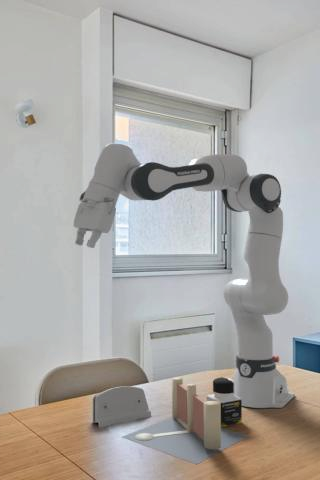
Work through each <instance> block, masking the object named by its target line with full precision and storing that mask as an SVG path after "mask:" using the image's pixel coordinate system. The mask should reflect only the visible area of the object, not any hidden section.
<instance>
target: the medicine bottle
mask: <svg viewBox="0 0 320 480" xmlns="http://www.w3.org/2000/svg"><path fill="white" fill-rule="evenodd" d="M206 401H217V402H220V403H221V428H223V427H228V426H232V425H233V426H235V425H238V424H242V423H243V420H242V418H243V416H242V414H243V413H242V412H243V411H242V399H241V398H240V397H237V396H235V382H234V380H233V378H229V377H225V376H224V377H221V376H220V377H217V378H214V379H213V380H212V394H207V395H206Z"/></svg>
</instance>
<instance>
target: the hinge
mask: <svg viewBox="0 0 320 480" xmlns="http://www.w3.org/2000/svg"><path fill="white" fill-rule="evenodd" d="M151 412H152V411H151V409H150V408H149V405H148V401H147V398H146V394H145V391H144V389H143V388H142V387H141V388H140V387H137V386H129V385H128V386H125V385H124V386H123V385H122V386H116V387H112V388H109V389H105V390H104V391H101V392H99V393H97V394H96V395H94V397H92V424H96V423H98V428H99V429H102V428H107V426H108V427H109V425H114V424H120V423H125V422H130V421H134V420H135V421H136V420H141V419H146V418H150V417H152V413H151ZM101 427H102V428H101Z"/></svg>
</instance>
